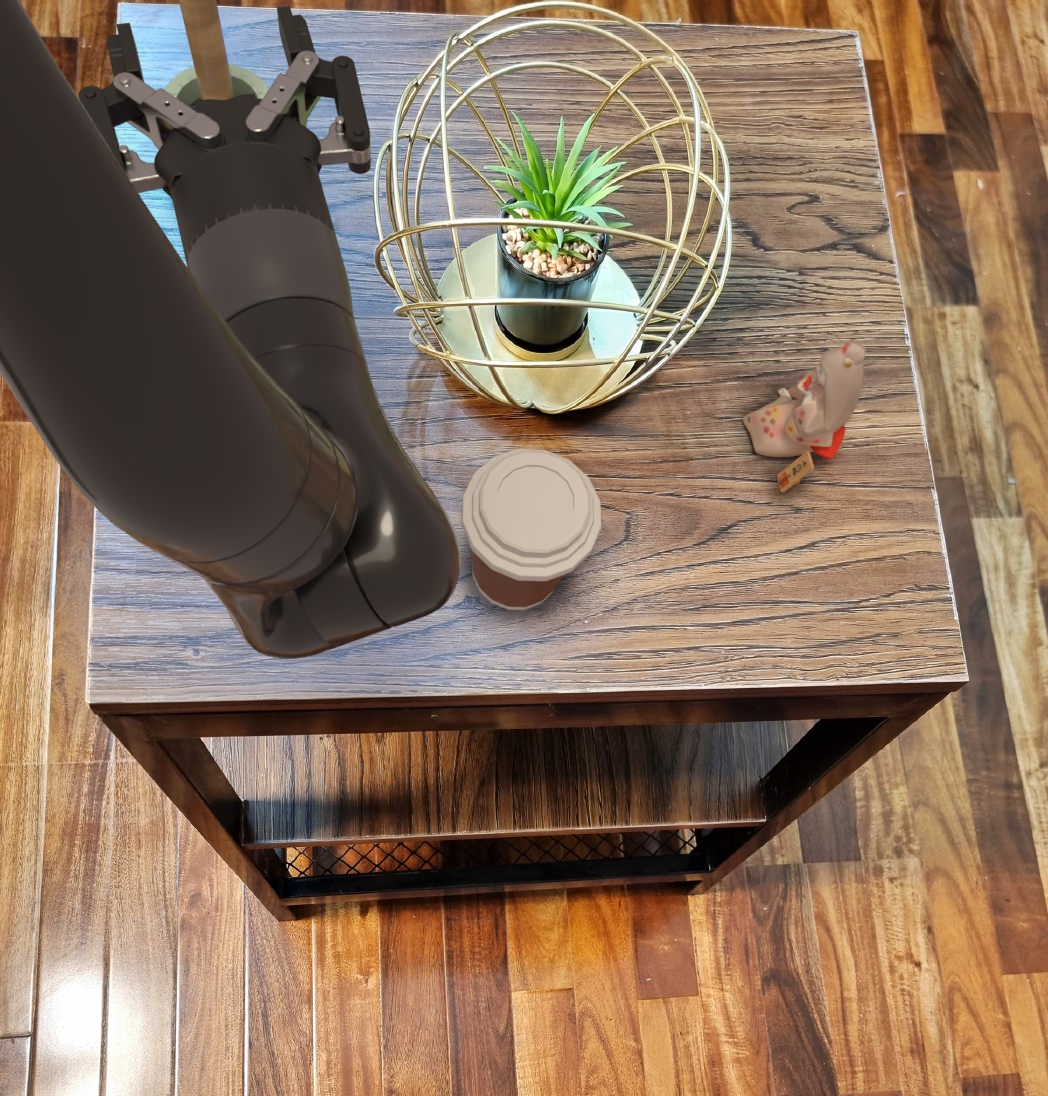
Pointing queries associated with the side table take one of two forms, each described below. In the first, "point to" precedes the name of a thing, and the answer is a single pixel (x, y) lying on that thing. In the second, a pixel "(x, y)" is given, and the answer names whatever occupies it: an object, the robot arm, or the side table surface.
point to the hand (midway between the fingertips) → (206, 27)
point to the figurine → (810, 413)
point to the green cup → (242, 79)
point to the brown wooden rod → (207, 48)
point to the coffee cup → (528, 525)
